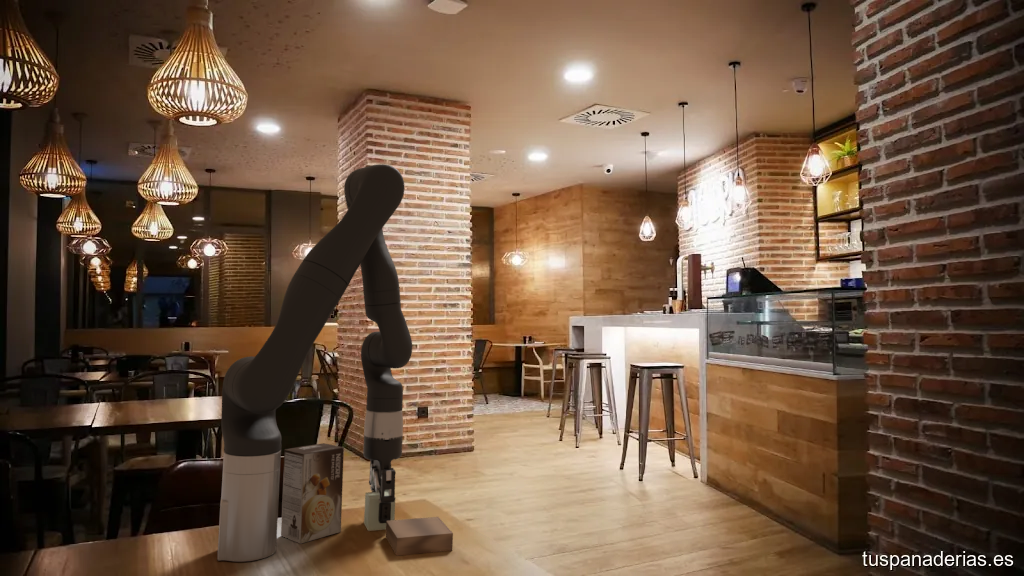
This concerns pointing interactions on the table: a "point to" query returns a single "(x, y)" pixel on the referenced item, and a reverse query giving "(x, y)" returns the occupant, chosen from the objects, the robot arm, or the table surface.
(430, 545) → the walnut plinth
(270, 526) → the robot arm
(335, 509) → the coffee box
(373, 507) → the sage block
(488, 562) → the table surface
